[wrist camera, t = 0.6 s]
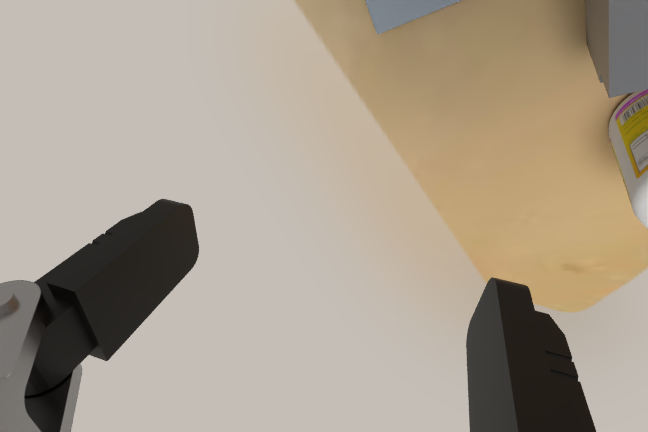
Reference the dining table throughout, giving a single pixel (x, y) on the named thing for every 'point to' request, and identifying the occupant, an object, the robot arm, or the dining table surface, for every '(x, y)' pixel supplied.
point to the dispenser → (619, 43)
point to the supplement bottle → (633, 149)
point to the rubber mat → (401, 11)
